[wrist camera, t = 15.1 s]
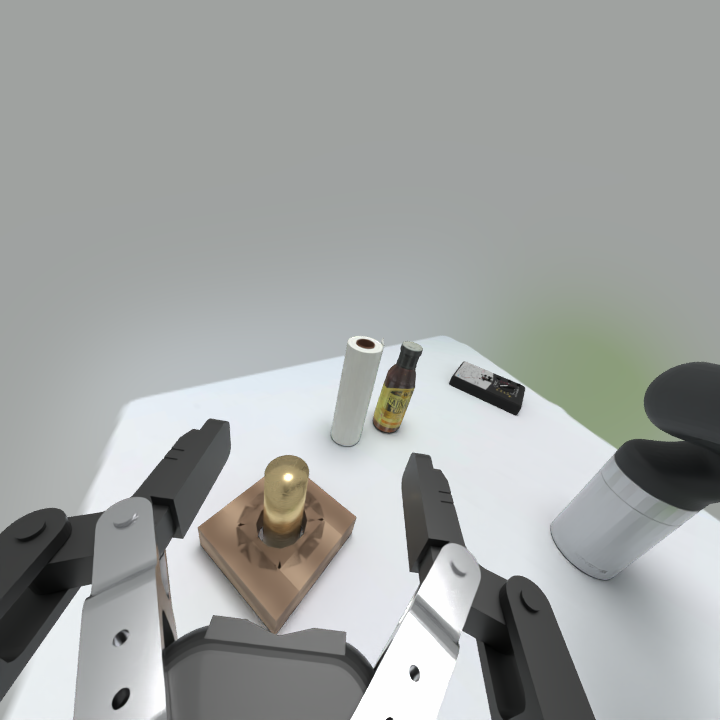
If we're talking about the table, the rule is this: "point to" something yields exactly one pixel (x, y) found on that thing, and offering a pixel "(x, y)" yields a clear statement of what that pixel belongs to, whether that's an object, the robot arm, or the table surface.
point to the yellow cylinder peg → (284, 500)
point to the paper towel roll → (355, 388)
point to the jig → (275, 550)
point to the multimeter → (489, 387)
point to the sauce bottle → (397, 389)
